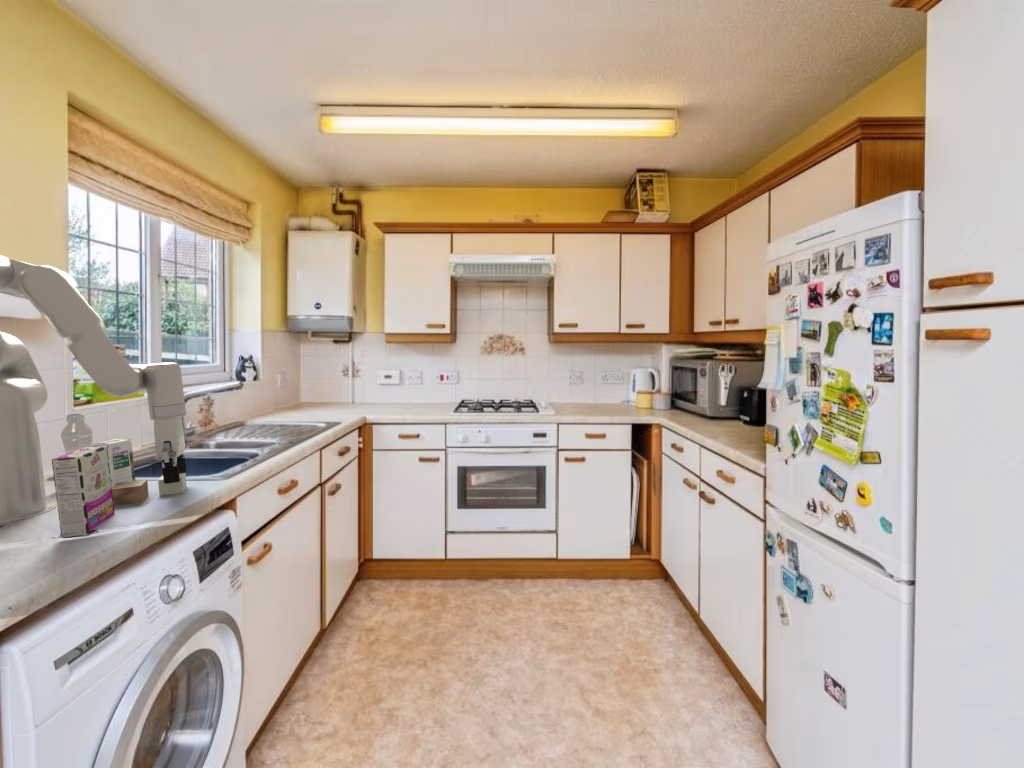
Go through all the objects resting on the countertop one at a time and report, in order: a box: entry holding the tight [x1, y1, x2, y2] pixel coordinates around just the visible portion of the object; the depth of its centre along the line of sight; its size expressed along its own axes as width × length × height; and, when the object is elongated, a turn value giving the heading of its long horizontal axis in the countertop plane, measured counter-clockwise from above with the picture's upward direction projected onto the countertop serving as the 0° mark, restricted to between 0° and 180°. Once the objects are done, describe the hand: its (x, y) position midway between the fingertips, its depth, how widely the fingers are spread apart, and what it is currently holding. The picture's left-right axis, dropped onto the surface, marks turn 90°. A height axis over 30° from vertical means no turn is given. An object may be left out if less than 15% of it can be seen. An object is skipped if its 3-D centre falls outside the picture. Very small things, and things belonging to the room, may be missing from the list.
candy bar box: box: [51, 446, 115, 539], centre depth 102 cm, size 11×5×16 cm, turn 17°
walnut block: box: [112, 479, 149, 506], centre depth 118 cm, size 6×6×4 cm
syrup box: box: [92, 438, 137, 487], centre depth 124 cm, size 6×6×14 cm
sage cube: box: [157, 472, 187, 496], centre depth 125 cm, size 5×5×5 cm
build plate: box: [114, 491, 159, 509], centre depth 118 cm, size 9×10×1 cm
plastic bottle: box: [60, 412, 94, 454], centre depth 135 cm, size 6×7×20 cm
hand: (175, 477), depth 125 cm, fingers open, 9 cm apart
